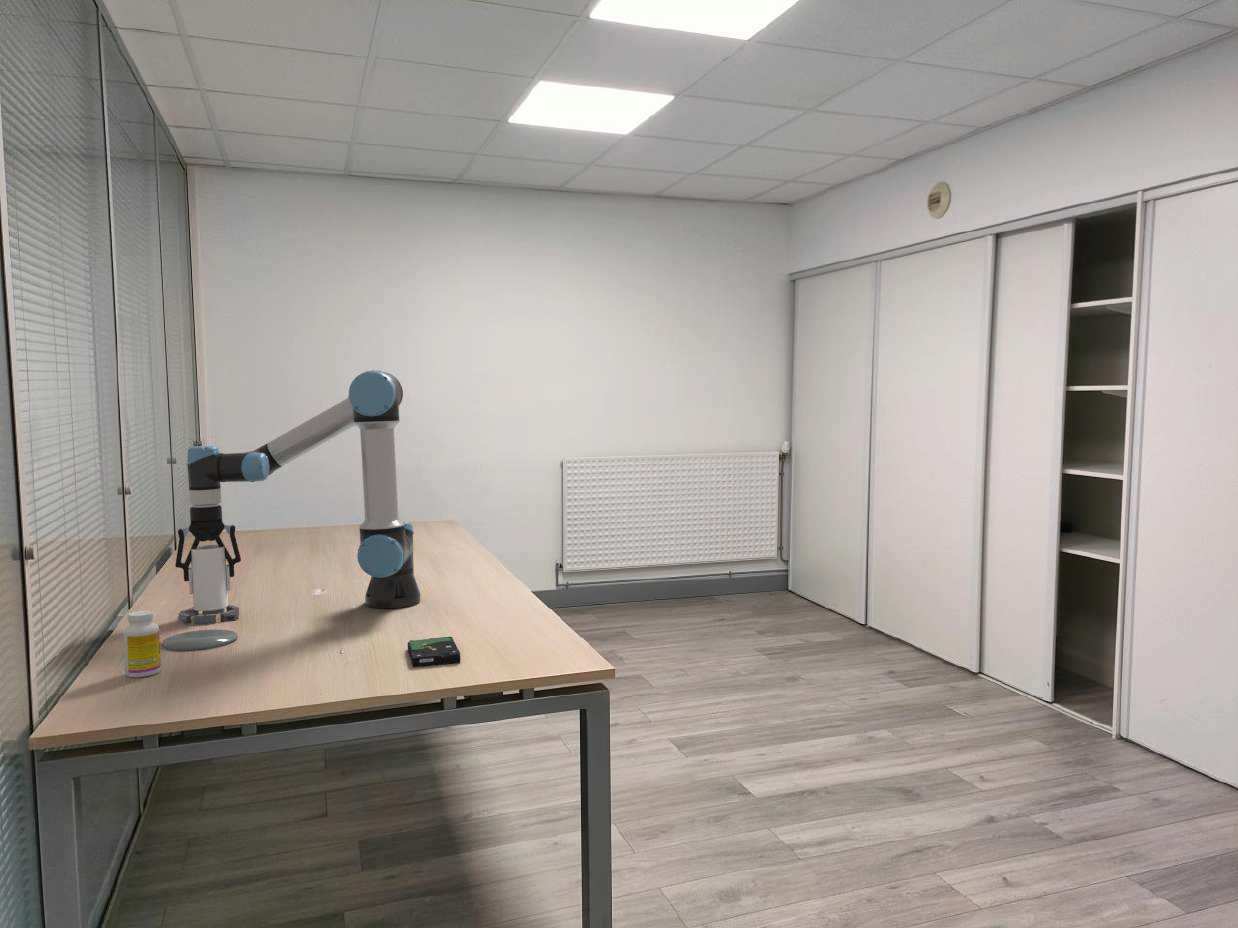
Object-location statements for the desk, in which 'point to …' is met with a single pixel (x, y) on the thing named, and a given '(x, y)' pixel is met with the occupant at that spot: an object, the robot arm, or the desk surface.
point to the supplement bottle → (141, 645)
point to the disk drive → (433, 652)
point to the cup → (209, 578)
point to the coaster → (199, 640)
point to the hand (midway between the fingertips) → (210, 591)
